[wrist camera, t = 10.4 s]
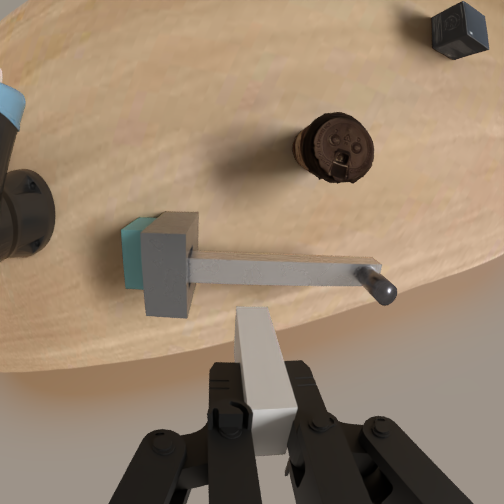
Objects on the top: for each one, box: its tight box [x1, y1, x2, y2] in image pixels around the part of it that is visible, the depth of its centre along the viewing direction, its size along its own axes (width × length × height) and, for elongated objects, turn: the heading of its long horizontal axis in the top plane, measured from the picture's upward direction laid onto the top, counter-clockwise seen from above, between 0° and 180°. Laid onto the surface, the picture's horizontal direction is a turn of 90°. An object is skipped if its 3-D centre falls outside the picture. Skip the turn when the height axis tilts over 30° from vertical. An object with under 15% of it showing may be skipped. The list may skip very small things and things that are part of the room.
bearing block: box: [140, 211, 199, 318], centre depth 39 cm, size 5×10×13 cm, turn 177°
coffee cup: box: [292, 112, 374, 184], centre depth 36 cm, size 9×8×13 cm
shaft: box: [188, 251, 397, 305], centre depth 34 cm, size 26×3×9 cm, turn 87°
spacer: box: [121, 217, 157, 290], centre depth 41 cm, size 4×8×8 cm, turn 177°
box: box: [431, 1, 489, 60], centre depth 31 cm, size 8×6×11 cm
